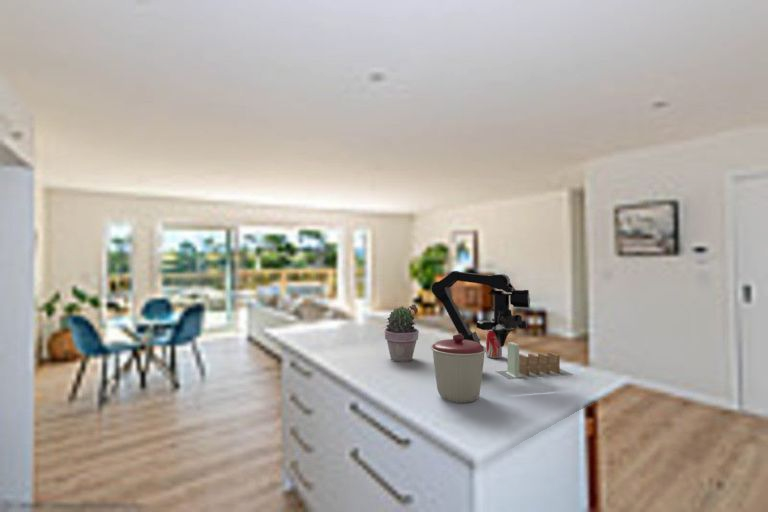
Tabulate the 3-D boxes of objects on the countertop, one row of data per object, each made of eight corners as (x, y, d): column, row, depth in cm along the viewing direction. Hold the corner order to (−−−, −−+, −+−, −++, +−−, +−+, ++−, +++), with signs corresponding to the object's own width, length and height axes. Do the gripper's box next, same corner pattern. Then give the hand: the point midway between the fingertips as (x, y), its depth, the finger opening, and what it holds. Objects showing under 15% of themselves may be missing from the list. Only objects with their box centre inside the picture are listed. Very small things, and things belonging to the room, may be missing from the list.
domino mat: (508, 380, 139) (508, 379, 139) (495, 372, 149) (495, 371, 149) (573, 375, 145) (573, 374, 145) (556, 368, 155) (556, 366, 155)
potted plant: (372, 356, 173) (372, 303, 174) (408, 352, 182) (408, 301, 182) (388, 366, 157) (388, 307, 157) (428, 361, 165) (428, 305, 166)
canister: (448, 384, 135) (447, 326, 135) (495, 395, 123) (495, 332, 124) (420, 398, 121) (420, 334, 121) (471, 413, 109) (471, 341, 110)
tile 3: (535, 374, 144) (535, 356, 144) (528, 371, 149) (528, 353, 149) (539, 374, 145) (539, 356, 145) (531, 370, 150) (531, 353, 150)
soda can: (503, 356, 174) (503, 328, 174) (499, 359, 168) (499, 331, 168) (488, 354, 178) (488, 327, 178) (484, 357, 172) (483, 329, 172)
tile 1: (514, 376, 142) (514, 345, 143) (507, 372, 147) (507, 342, 147) (519, 375, 143) (519, 344, 143) (512, 372, 148) (512, 342, 148)
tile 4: (546, 374, 145) (545, 356, 145) (538, 370, 150) (538, 353, 150) (549, 373, 146) (549, 356, 146) (541, 370, 151) (541, 352, 151)
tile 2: (525, 375, 143) (525, 357, 144) (518, 371, 148) (518, 354, 148) (529, 375, 144) (529, 357, 144) (521, 371, 149) (521, 354, 149)
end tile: (556, 373, 146) (556, 355, 146) (547, 369, 151) (547, 352, 151) (559, 373, 147) (559, 355, 147) (551, 369, 152) (551, 352, 152)
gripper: (489, 309, 134) (489, 352, 134) (535, 308, 138) (535, 350, 138) (475, 306, 145) (475, 345, 145) (518, 304, 149) (518, 343, 149)
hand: (501, 346), depth 144 cm, fingers closed
